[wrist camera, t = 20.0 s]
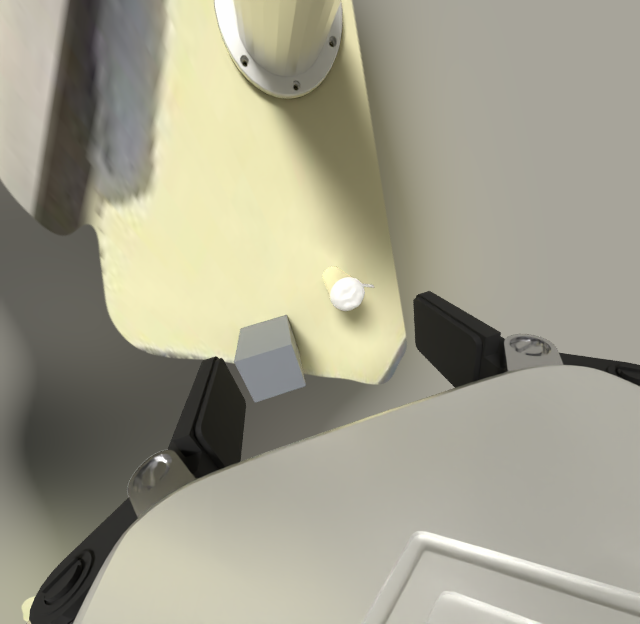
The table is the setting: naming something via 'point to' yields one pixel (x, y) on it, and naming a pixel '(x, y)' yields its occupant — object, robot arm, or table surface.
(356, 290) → the milkshake
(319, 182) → the table surface
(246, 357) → the grey cube
